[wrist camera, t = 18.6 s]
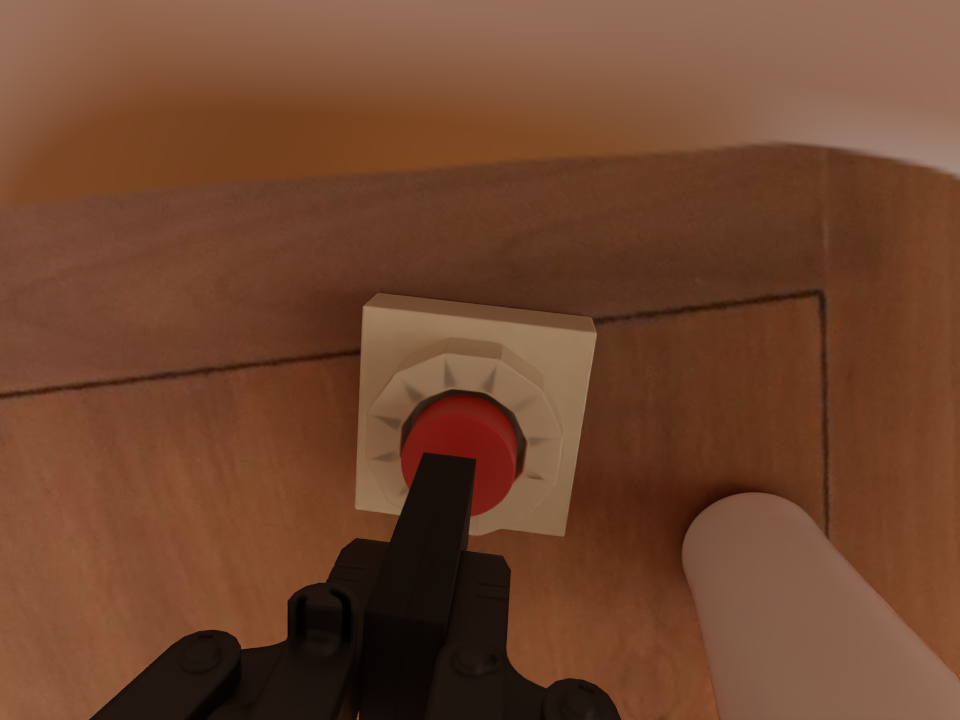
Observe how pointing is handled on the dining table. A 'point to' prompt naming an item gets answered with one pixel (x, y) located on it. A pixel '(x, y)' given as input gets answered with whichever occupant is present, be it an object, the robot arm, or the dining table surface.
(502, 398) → the button box
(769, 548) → the drinking glass
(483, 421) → the button
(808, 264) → the dining table surface
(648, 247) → the dining table surface
